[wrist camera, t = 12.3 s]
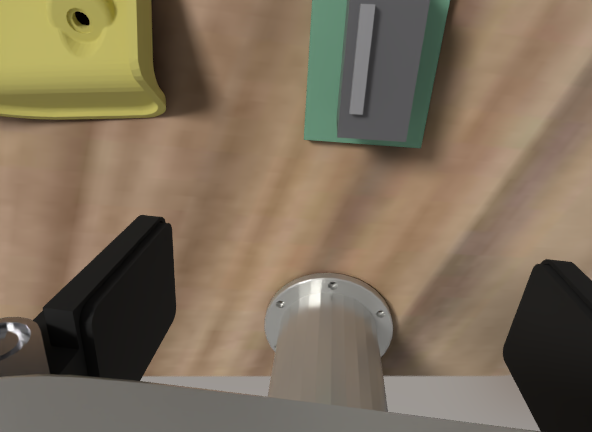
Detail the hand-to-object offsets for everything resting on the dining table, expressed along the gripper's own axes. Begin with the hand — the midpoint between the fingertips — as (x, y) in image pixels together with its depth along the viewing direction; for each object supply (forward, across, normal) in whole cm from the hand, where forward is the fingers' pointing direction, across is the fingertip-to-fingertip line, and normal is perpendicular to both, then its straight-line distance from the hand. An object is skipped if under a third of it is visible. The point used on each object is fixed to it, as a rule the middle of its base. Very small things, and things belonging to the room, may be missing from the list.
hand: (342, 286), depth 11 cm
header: (+23, -2, -4) cm, 24 cm away
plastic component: (+24, +23, -4) cm, 33 cm away
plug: (+22, -2, -5) cm, 23 cm away
